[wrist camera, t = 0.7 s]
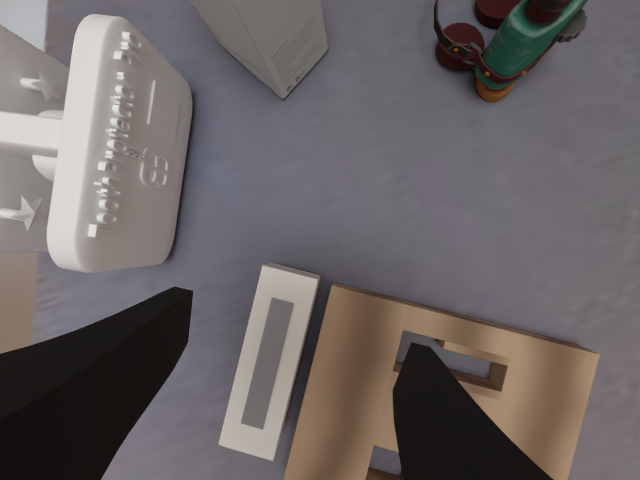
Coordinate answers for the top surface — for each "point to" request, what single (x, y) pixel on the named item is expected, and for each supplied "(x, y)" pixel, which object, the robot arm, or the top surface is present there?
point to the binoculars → (508, 39)
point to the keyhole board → (462, 337)
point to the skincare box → (269, 36)
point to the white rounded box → (91, 148)
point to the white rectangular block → (269, 360)
